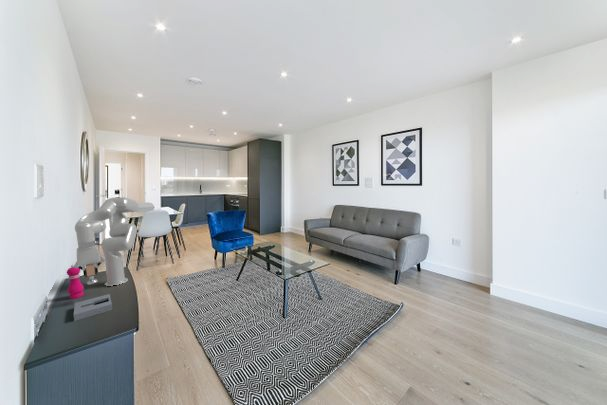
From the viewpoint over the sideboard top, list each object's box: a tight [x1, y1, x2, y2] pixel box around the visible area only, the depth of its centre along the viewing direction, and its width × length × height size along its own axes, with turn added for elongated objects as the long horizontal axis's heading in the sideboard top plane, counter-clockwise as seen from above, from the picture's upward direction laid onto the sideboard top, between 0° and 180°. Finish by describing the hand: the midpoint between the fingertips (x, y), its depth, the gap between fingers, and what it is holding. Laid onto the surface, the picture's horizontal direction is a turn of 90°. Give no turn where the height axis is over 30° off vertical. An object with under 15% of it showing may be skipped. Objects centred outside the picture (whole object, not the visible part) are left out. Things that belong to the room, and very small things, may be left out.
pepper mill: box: [66, 264, 85, 300], centre depth 149 cm, size 7×7×20 cm
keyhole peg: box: [85, 263, 99, 286], centre depth 143 cm, size 5×5×11 cm
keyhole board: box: [73, 293, 113, 322], centre depth 133 cm, size 17×15×3 cm
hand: (91, 274), depth 144 cm, fingers closed on keyhole peg, 3 cm apart
